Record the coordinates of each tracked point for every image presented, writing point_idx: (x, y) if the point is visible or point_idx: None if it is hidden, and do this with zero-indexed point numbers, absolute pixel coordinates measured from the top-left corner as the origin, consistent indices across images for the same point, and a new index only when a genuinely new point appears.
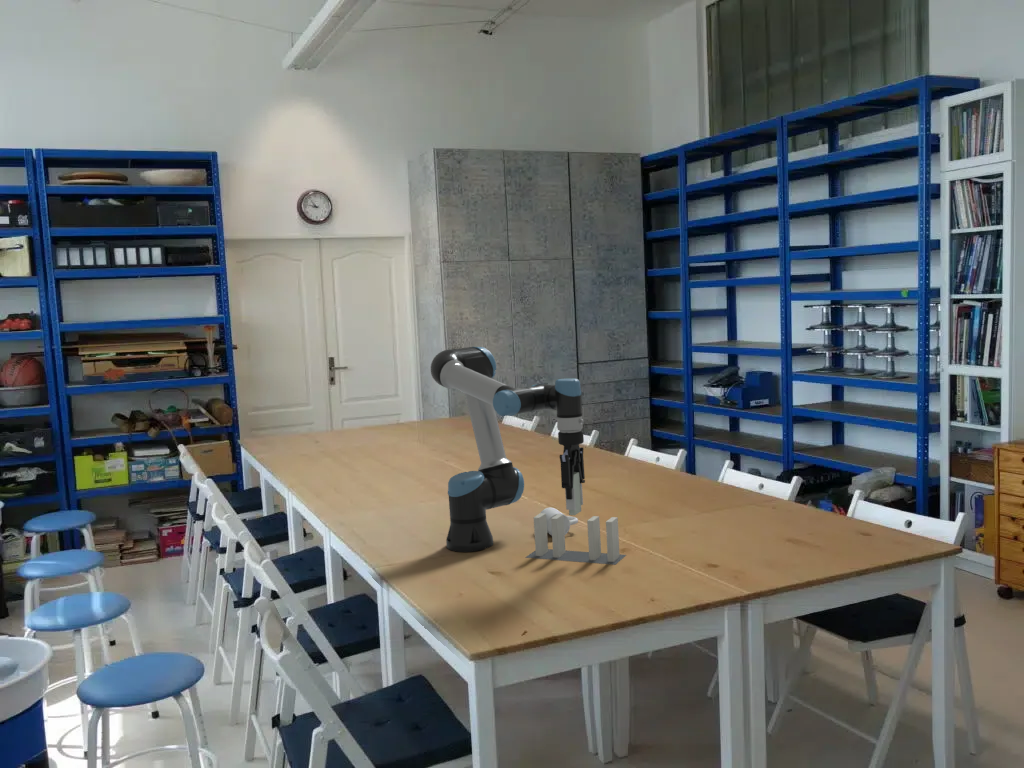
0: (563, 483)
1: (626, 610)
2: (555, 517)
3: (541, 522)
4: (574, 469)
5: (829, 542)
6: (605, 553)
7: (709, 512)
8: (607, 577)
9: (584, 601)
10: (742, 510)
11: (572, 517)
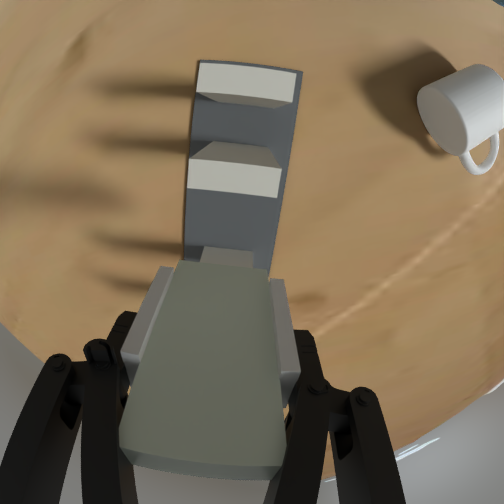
0: (45, 383)
1: (25, 333)
2: (211, 174)
3: (227, 96)
4: (273, 491)
5: (327, 457)
6: (267, 271)
7: (484, 354)
8: (111, 301)
9: (16, 283)
10: (473, 380)
11: (491, 159)
